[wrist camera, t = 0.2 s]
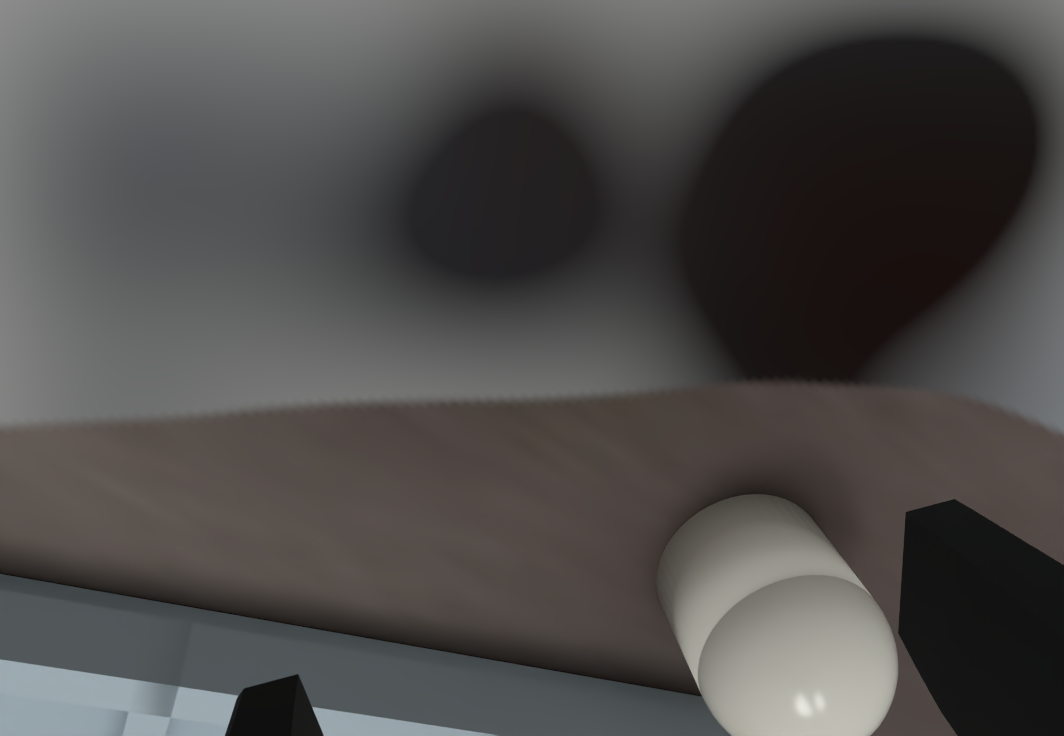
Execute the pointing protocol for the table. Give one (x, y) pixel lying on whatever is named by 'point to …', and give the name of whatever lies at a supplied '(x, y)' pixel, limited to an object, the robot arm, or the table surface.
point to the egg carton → (277, 652)
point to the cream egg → (776, 623)
